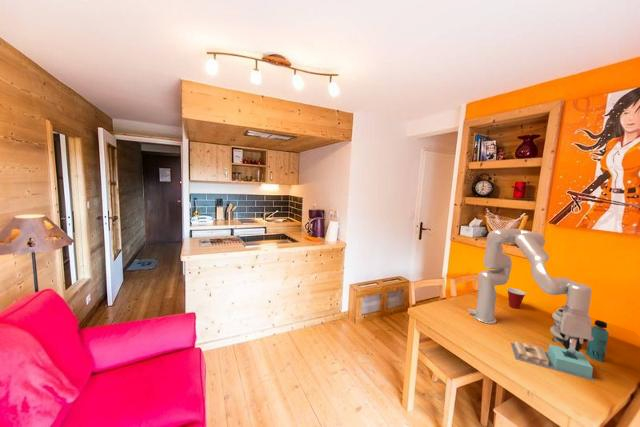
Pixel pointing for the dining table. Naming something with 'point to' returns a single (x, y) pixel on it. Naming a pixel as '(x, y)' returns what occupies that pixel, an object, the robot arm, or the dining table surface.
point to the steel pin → (572, 346)
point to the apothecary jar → (556, 316)
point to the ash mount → (531, 353)
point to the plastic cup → (515, 297)
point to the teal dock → (570, 361)
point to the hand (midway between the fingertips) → (571, 348)
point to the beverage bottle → (598, 341)
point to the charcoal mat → (550, 365)
